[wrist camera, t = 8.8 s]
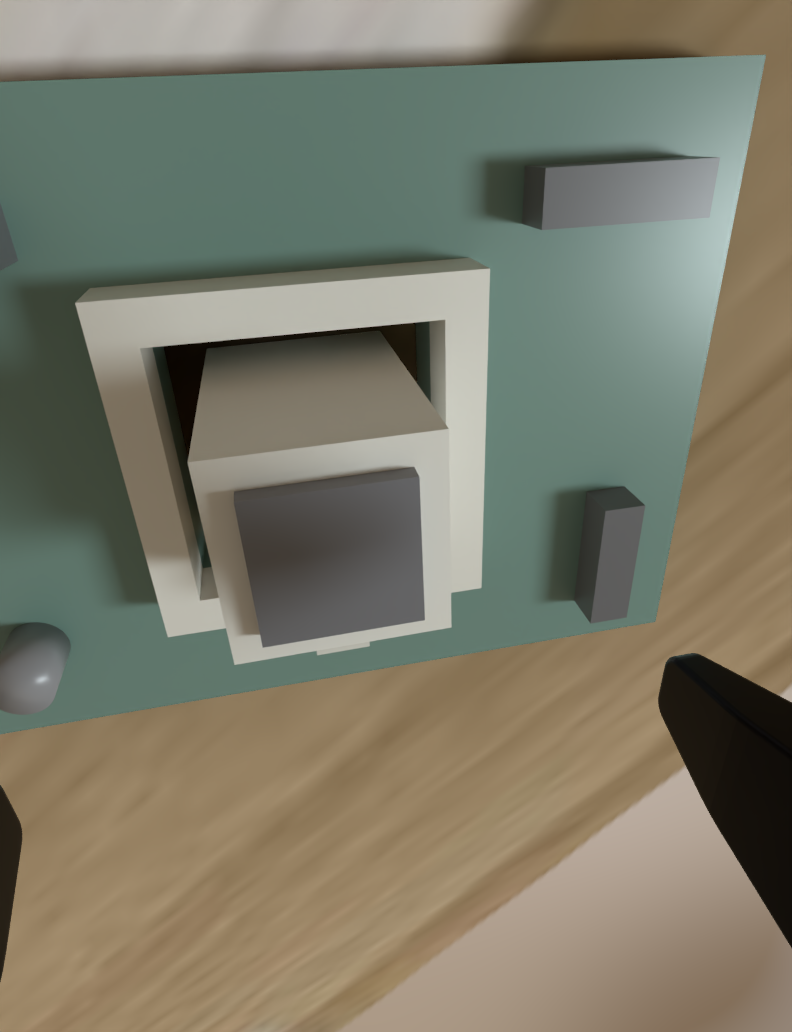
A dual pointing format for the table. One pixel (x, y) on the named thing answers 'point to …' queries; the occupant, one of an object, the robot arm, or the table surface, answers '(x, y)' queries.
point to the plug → (321, 495)
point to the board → (345, 305)
